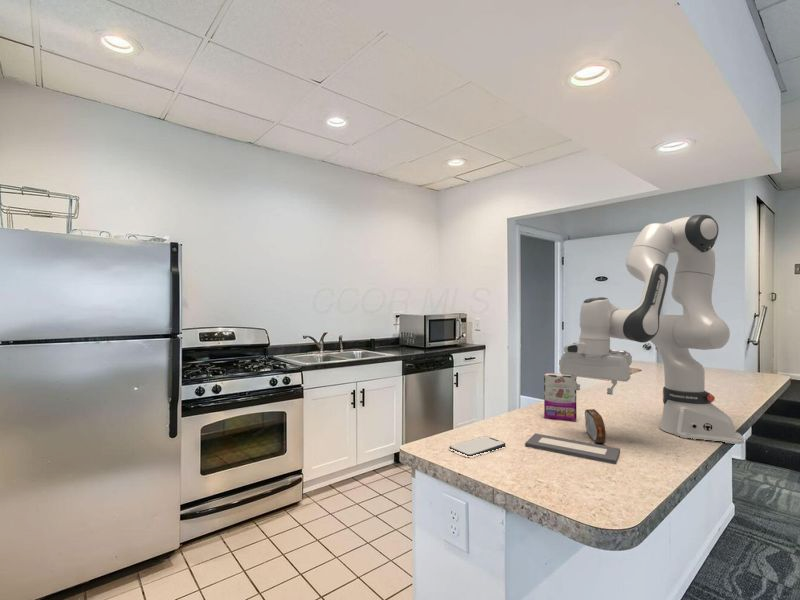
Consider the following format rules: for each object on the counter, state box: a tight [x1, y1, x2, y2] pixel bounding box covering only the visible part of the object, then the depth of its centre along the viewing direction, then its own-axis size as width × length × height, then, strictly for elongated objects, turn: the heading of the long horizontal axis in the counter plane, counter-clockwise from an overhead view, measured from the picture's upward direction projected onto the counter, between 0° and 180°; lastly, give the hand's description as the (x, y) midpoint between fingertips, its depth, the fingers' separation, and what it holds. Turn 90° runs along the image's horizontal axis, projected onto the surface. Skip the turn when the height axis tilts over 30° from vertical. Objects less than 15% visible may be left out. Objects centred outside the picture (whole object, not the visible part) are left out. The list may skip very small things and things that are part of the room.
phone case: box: [449, 435, 506, 456], centre depth 119 cm, size 9×2×16 cm
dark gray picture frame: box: [524, 432, 621, 465], centre depth 119 cm, size 24×11×1 cm, turn 57°
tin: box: [584, 408, 607, 444], centre depth 129 cm, size 15×3×8 cm, turn 168°
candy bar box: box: [543, 372, 578, 422], centre depth 151 cm, size 11×5×16 cm, turn 68°
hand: (593, 392), depth 129 cm, fingers open, 8 cm apart
